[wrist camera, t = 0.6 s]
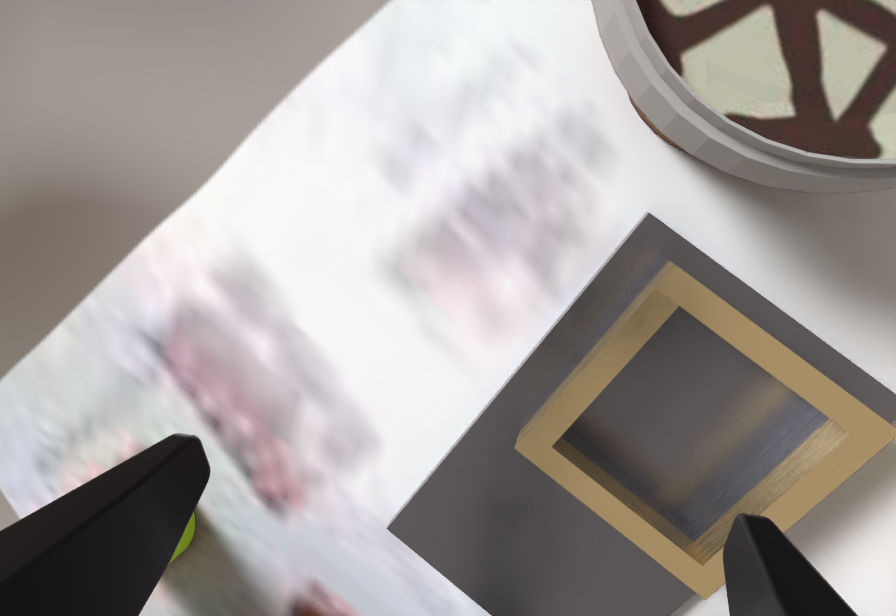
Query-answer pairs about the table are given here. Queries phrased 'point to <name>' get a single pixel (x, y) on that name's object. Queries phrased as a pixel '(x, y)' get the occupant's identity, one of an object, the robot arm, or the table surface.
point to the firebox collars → (643, 442)
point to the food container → (765, 85)
